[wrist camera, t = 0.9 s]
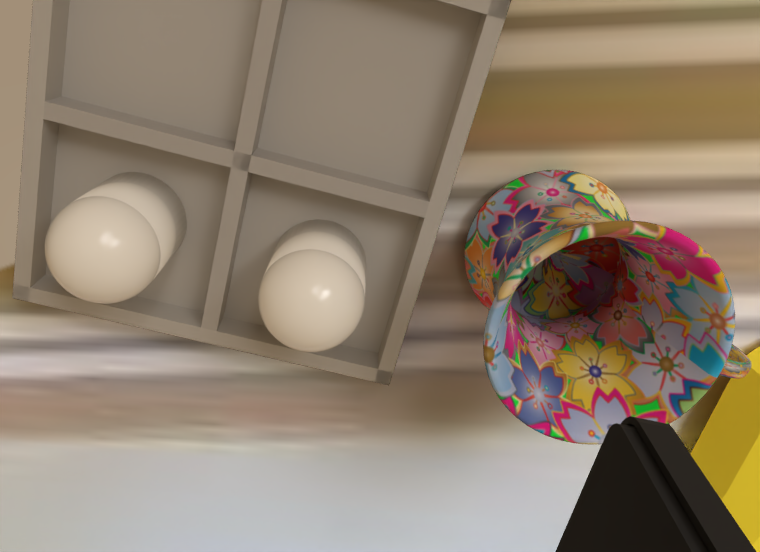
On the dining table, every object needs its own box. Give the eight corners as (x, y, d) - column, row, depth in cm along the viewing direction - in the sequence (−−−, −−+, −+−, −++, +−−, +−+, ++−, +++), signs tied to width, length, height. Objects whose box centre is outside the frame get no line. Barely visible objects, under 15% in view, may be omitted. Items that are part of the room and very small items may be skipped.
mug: (428, 295, 36) (446, 407, 26) (497, 130, 33) (549, 186, 23) (629, 362, 37) (718, 490, 28) (714, 210, 34) (851, 295, 24)
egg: (283, 208, 33) (261, 256, 27) (377, 232, 34) (376, 285, 28) (264, 294, 35) (240, 357, 29) (353, 315, 36) (348, 382, 29)
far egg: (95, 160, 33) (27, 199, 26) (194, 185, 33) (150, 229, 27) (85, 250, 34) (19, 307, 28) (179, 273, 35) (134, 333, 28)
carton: (66, -129, 28) (42, -140, 26) (502, 0, 30) (511, 0, 28) (33, 281, 35) (12, 298, 33) (388, 364, 37) (389, 385, 35)
